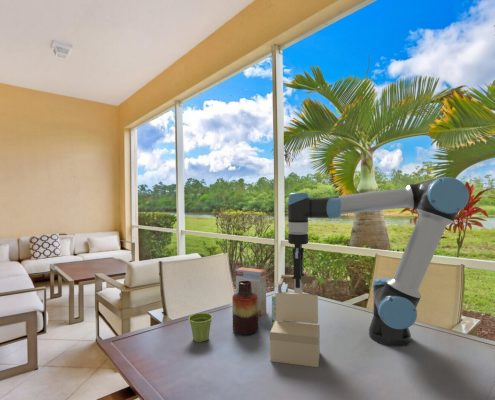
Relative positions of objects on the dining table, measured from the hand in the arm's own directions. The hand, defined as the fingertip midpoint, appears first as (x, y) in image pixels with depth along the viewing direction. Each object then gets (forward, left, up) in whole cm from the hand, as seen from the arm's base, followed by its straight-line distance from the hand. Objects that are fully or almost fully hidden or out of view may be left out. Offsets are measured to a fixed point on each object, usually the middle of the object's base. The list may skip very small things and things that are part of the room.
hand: (298, 294), depth 122 cm
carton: (0, +11, -19) cm, 22 cm away
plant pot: (+38, +6, -19) cm, 43 cm away
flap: (0, +7, -1) cm, 7 cm away
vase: (+23, -6, -19) cm, 30 cm away
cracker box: (+26, -27, -19) cm, 42 cm away
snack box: (+10, -17, -19) cm, 27 cm away
